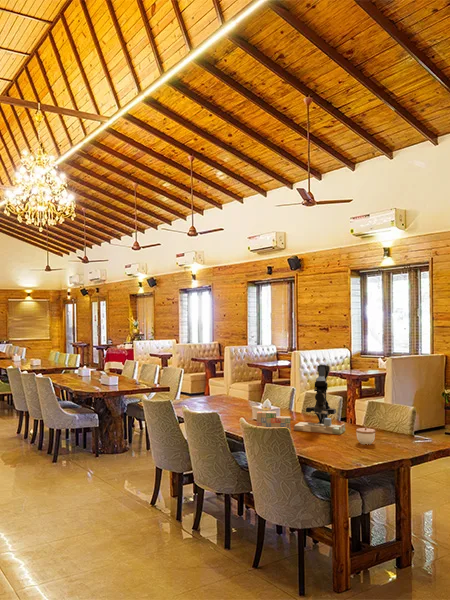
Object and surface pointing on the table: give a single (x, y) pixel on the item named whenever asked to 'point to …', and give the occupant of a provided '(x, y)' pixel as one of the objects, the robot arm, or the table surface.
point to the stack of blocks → (272, 419)
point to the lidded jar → (365, 435)
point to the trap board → (320, 428)
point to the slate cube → (327, 421)
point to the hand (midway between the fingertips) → (320, 423)
